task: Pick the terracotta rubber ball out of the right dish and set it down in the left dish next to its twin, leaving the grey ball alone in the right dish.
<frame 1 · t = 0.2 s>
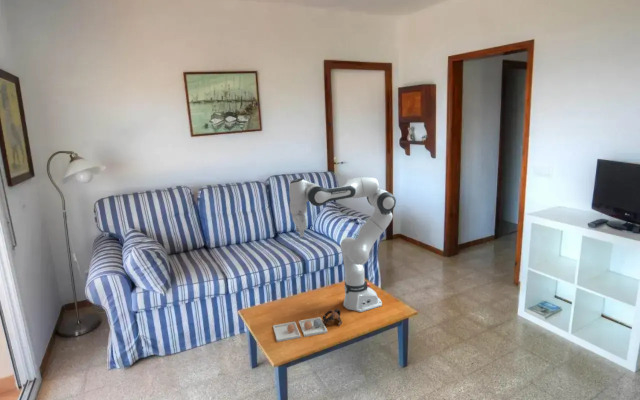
hand: (299, 234, 208), 47 cm above the table, fingers open, 8 cm apart
dish b: (312, 328, 203), on the table
dish a: (286, 333, 200), on the table
pottery mug: (333, 323, 208), on the table
ball terracotta a: (308, 328, 202), point 1 cm above the table, touching dish b
ball terracotta b: (291, 331, 200), point 1 cm above the table, touching dish a
ball grey: (317, 326, 204), point 1 cm above the table, touching dish b
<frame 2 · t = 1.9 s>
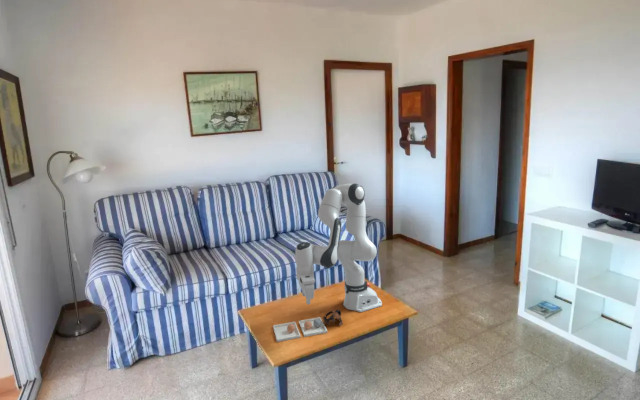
hand: (306, 299, 199), 17 cm above the table, fingers open, 8 cm apart
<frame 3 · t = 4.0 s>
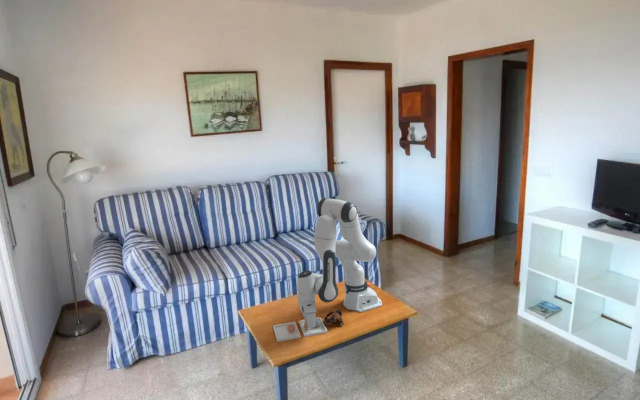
hand: (308, 326, 202), 2 cm above the table, fingers closed on ball terracotta a, 4 cm apart
ball terracotta a: (308, 328, 202), point 1 cm above the table, touching dish b, gripper
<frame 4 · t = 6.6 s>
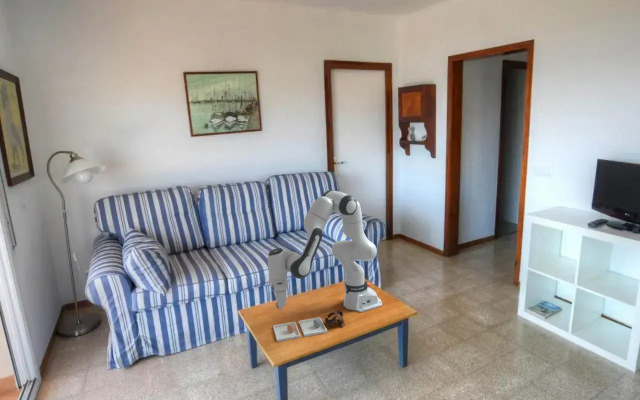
hand: (279, 306, 196), 16 cm above the table, fingers closed on ball terracotta a, 4 cm apart
ball terracotta a: (279, 308, 196), point 15 cm above the table, touching gripper
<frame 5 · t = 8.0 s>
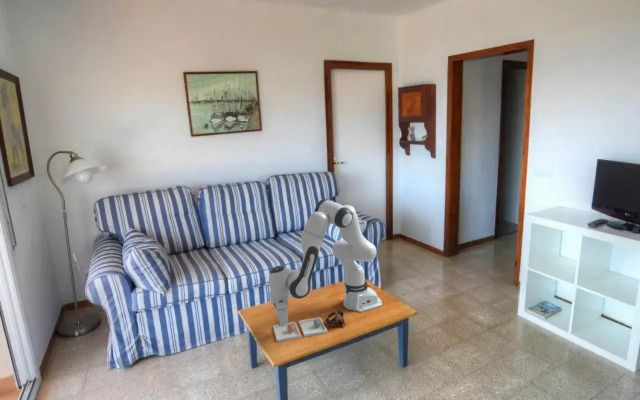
hand: (281, 323, 197), 7 cm above the table, fingers closed on ball terracotta a, 4 cm apart
ball terracotta a: (281, 325, 198), point 5 cm above the table, touching gripper
when the fingers open (3 cm above the table, at t = 9.1 s): ball terracotta a drops 1 cm, resting on dish a.
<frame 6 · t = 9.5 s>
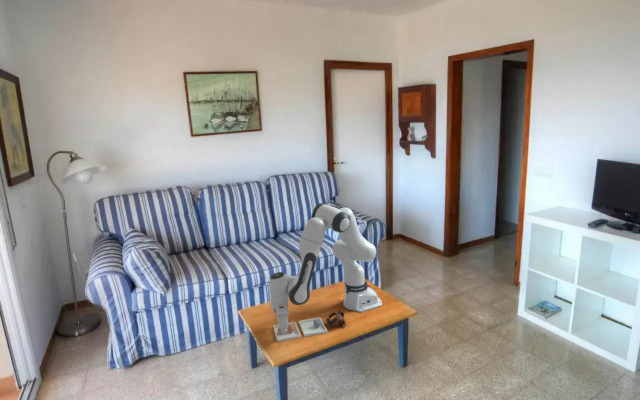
hand: (281, 328, 198), 3 cm above the table, fingers open, 8 cm apart
ball terracotta a: (281, 333, 199), point 1 cm above the table, touching dish a
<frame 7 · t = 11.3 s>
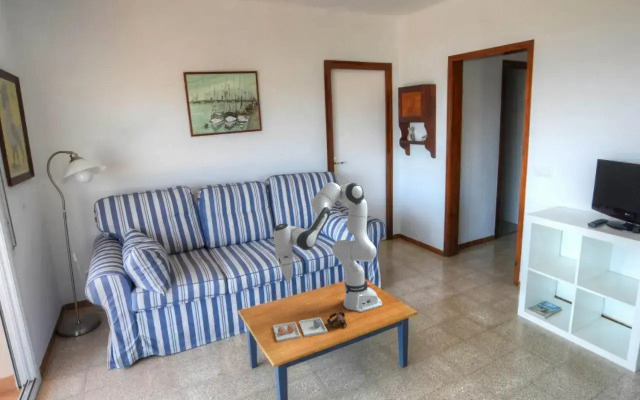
hand: (286, 279, 204), 26 cm above the table, fingers open, 8 cm apart
ball terracotta a: (281, 333, 199), point 1 cm above the table, tilted 21°, touching dish a
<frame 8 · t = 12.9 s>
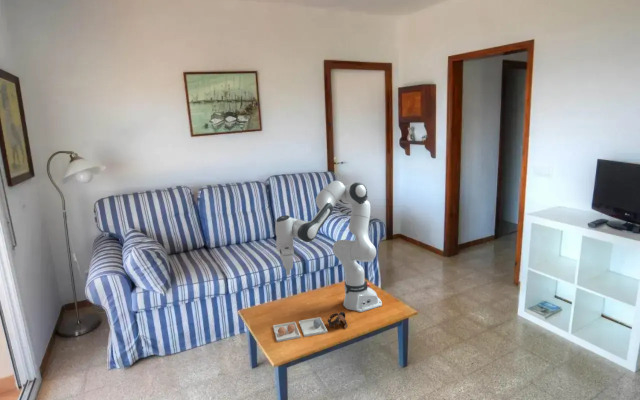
hand: (286, 271, 206), 29 cm above the table, fingers open, 8 cm apart
ball terracotta a: (281, 332, 199), point 1 cm above the table, tilted 36°, touching dish a
at the end: ball terracotta a inside the target area on the dish a (2.5 cm from its centre), point 1.0 cm above the dish a's base; ball terracotta b inside the target area on the dish a (2.5 cm from its centre), point 0.6 cm above the dish a's base; the gripper is holding nothing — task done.
